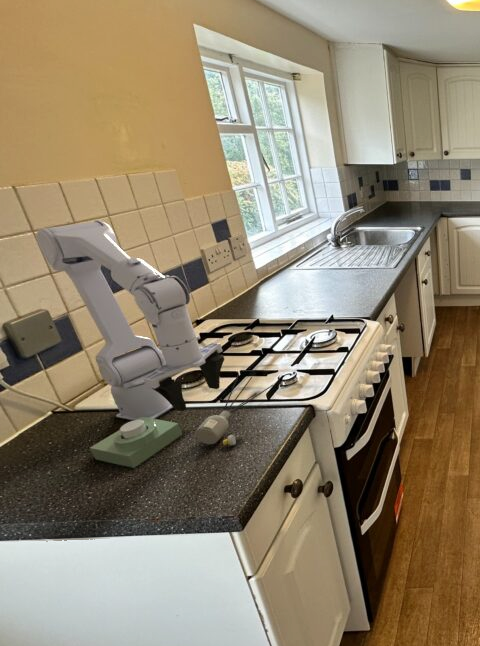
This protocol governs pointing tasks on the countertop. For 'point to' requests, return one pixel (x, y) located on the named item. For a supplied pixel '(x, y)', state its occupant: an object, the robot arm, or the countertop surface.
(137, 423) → the white round button
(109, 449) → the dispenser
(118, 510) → the countertop surface
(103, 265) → the robot arm
